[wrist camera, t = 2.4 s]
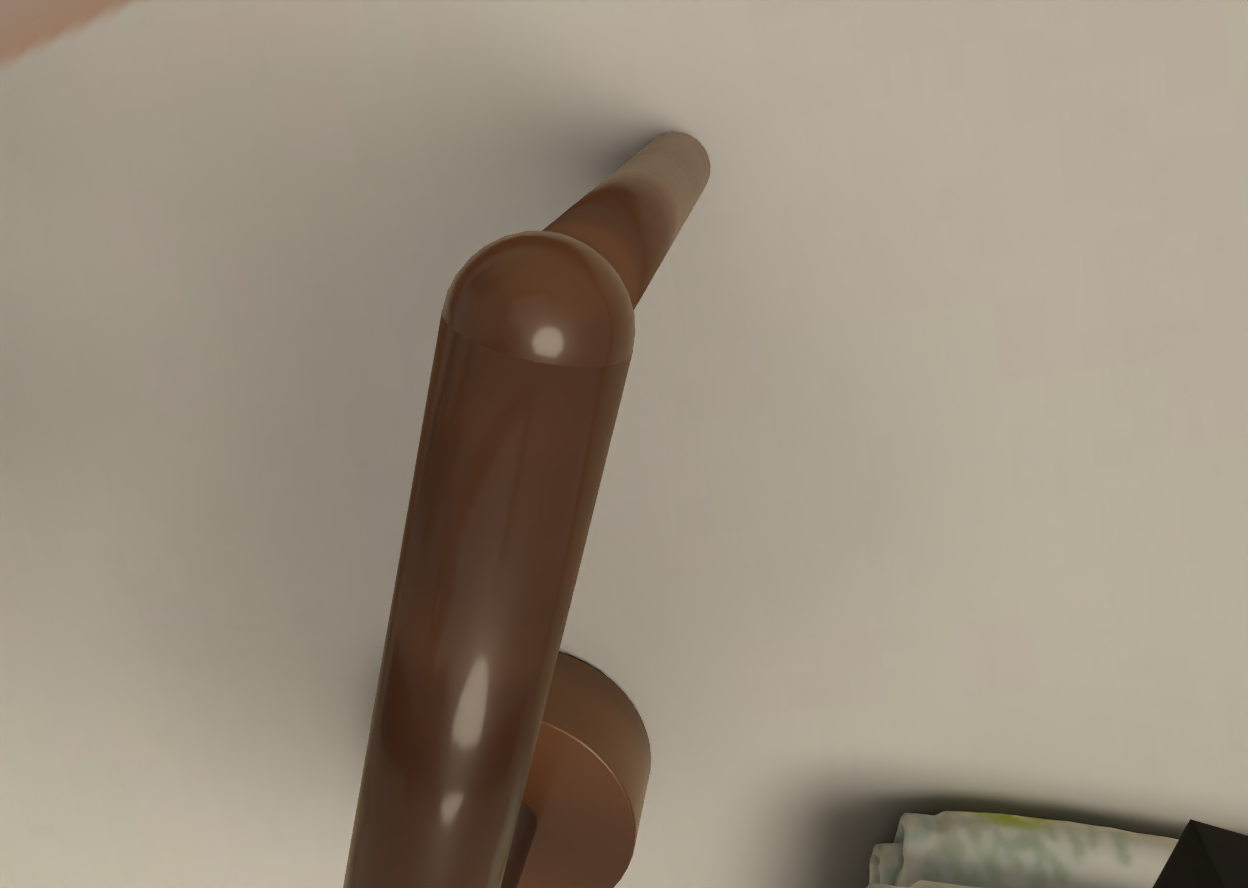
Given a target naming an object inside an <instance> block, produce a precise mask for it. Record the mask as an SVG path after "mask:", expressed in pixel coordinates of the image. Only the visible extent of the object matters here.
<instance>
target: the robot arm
mask: <svg viewBox="0 0 1248 888" xmlns="http://www.w3.org/2000/svg"><path fill="white" fill-rule="evenodd" d="M1153 888H1248V836H1245V835H1242V834H1239V833H1235V832H1232V831H1228V830H1225V829H1222V828H1218V827H1215V826H1211V825H1208V824H1204V823H1201V822H1198V821H1194V820H1191V819H1190V821H1189V823H1188V824H1187V826H1186V828H1185V830H1184V832H1183V833H1182V835H1181V837H1180V839H1179V841H1178V842H1177V844H1176V846H1175V848H1174V850H1173V851H1172V853H1171V855H1170V857H1169V859H1168V860H1167V862H1166V864H1165V866H1164V868H1163V869H1162V871H1161V873H1160V875H1159V877H1158V879H1157V880H1156V882H1155V884H1154V886H1153Z"/></svg>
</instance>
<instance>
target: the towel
mask: <svg viewBox="0 0 1248 888" xmlns="http://www.w3.org/2000/svg"><path fill="white" fill-rule="evenodd" d="M1178 841H1179V839H1174V838H1169V837H1163V836H1156V835H1149V834H1142V833H1135V832H1129V831H1124V830H1120V829H1115V828H1110V827H1102V826H1095V825H1088V824H1082V823H1076V822H1070V821H1061V820H1049V819H1041V818H1032V817H1022V816H1018V815H1007V814H1003V813H997V814H993V813H987V812H986V813H977V812H964V811H944V812H941V813H939V814H937V815H926V814H916V813H904V814H903V815H902V816H901V817H900V821H899V825H898V829H897V833H896V836H895V840H894V843H884V844H877V845H875V846H874V849H873V852H872V855H871V858H870V864H869V868H870V878H869V885H868V887H866V888H1153V886H1154V884H1155V882H1156V880H1157V879H1158V877H1159V875H1160V873H1161V871H1162V869H1163V868H1164V866H1165V864H1166V862H1167V860H1168V859H1169V857H1170V855H1171V853H1172V851H1173V850H1174V848H1175V846H1176V844H1177V842H1178Z"/></svg>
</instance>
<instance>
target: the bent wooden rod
mask: <svg viewBox="0 0 1248 888" xmlns="http://www.w3.org/2000/svg"><path fill="white" fill-rule="evenodd" d="M709 175H710V162H709V157H708V154H707V152H706V150H705V148H704V147H703V146H702V144H701V143H700V142H699V141H698V140H697V139H695V138H693V137H692V136H690V135H687V134H685V133H679V132H671V133H666V134H663V135H661V136H659V137H657V138H655V139H654V140H653V141H652V142H650V143H649V144H648V145H647V146H645V147H644V148H643V149H642V150H641V151H639V152H638V153H637V154H636V155H634V156H633V157H632V158H631V159H629V160H628V161H627V162H626V163H625V164H623V165H622V166H621V167H620V168H618V169H617V170H616V171H615V172H614V173H612V174H611V175H610V176H609V177H607V178H606V179H605V180H604V181H603V182H601V183H600V184H599V185H598V186H596V187H595V188H594V189H593V190H592V191H590V192H589V193H588V194H587V195H585V196H584V197H583V198H582V199H581V200H579V201H578V202H577V203H576V204H574V205H573V206H572V207H571V208H570V209H568V210H567V211H566V212H565V213H563V214H562V215H561V216H560V217H558V218H557V219H556V220H555V221H554V222H552V223H551V224H550V225H549V226H547V227H546V228H545V229H544V230H543V231H525V232H520V233H516V234H512V235H507V236H504V237H502V238H500V239H498V240H496V241H494V242H492V243H490V244H488V245H486V246H484V247H483V248H482V249H481V250H479V251H478V252H477V253H475V254H474V255H473V256H472V257H471V258H470V259H469V260H468V261H467V262H466V264H465V265H464V266H463V267H462V268H461V270H460V271H459V272H458V273H457V275H456V276H455V278H454V280H453V282H452V284H451V286H450V288H449V289H448V291H447V295H446V298H445V302H444V305H443V309H442V314H441V320H440V325H439V331H438V337H437V343H436V349H435V355H434V360H433V366H432V372H431V378H430V384H429V390H428V395H427V401H426V407H425V413H424V419H423V425H422V430H421V436H420V442H419V448H418V454H417V460H416V465H415V471H414V477H413V483H412V489H411V495H410V500H409V506H408V512H407V518H406V524H405V530H404V535H403V541H402V547H401V553H400V559H399V565H398V570H397V576H396V582H395V588H394V594H393V600H392V605H391V611H390V617H389V623H388V629H387V635H386V640H385V646H384V652H383V658H382V664H381V670H380V675H379V681H378V687H377V693H376V699H375V705H374V711H373V716H372V722H371V728H370V734H369V740H368V746H367V751H366V757H365V763H364V769H363V775H362V781H361V786H360V792H359V798H358V804H357V810H356V816H355V821H354V827H353V833H352V839H351V845H350V851H349V856H348V862H347V868H346V874H345V880H344V886H343V888H614V886H615V885H616V884H617V883H618V882H619V881H620V879H621V878H622V876H623V875H624V873H625V871H626V870H627V868H628V866H629V863H630V861H631V858H632V856H633V851H634V847H635V842H636V837H637V832H638V827H639V822H640V818H641V813H642V808H643V803H644V798H645V793H646V788H647V783H648V778H649V773H650V764H651V754H650V744H649V740H648V736H647V733H646V730H645V727H644V725H643V722H642V720H641V718H640V716H639V714H638V713H637V711H636V709H635V707H634V706H633V704H632V703H631V702H630V700H629V699H628V698H627V696H626V695H625V694H624V693H623V692H622V691H621V690H620V689H619V688H618V687H617V686H616V685H615V684H614V683H613V682H612V681H611V680H610V679H608V678H607V677H606V676H605V675H603V674H602V673H601V672H599V671H598V670H596V669H594V668H593V667H591V666H590V665H588V664H586V663H584V662H582V661H580V660H578V659H576V658H574V657H571V656H568V655H565V654H562V653H559V648H560V644H561V640H562V636H563V632H564V628H565V624H566V620H567V616H568V612H569V608H570V604H571V599H572V595H573V591H574V587H575V583H576V579H577V575H578V571H579V567H580V563H581V559H582V555H583V551H584V547H585V543H586V539H587V535H588V531H589V527H590V523H591V518H592V514H593V510H594V506H595V502H596V498H597V494H598V490H599V486H600V482H601V478H602V474H603V470H604V466H605V462H606V458H607V454H608V450H609V446H610V442H611V437H612V433H613V429H614V425H615V421H616V417H617V413H618V409H619V405H620V401H621V397H622V393H623V389H624V385H625V381H626V377H627V373H628V369H629V365H630V361H631V356H632V352H633V344H634V337H635V319H634V309H635V307H636V305H637V304H638V302H639V300H640V299H641V297H642V295H643V293H644V292H645V290H646V288H647V286H648V285H649V283H650V281H651V280H652V278H653V276H654V274H655V273H656V271H657V269H658V267H659V266H660V264H661V262H662V261H663V259H664V257H665V255H666V254H667V252H668V250H669V248H670V247H671V245H672V243H673V242H674V240H675V238H676V236H677V235H678V233H679V231H680V230H681V228H682V226H683V224H684V223H685V221H686V219H687V217H688V216H689V214H690V212H691V211H692V209H693V207H694V205H695V204H696V202H697V200H698V198H699V197H700V195H701V193H702V192H703V190H704V188H705V186H706V184H707V182H708V179H709Z"/></svg>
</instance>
